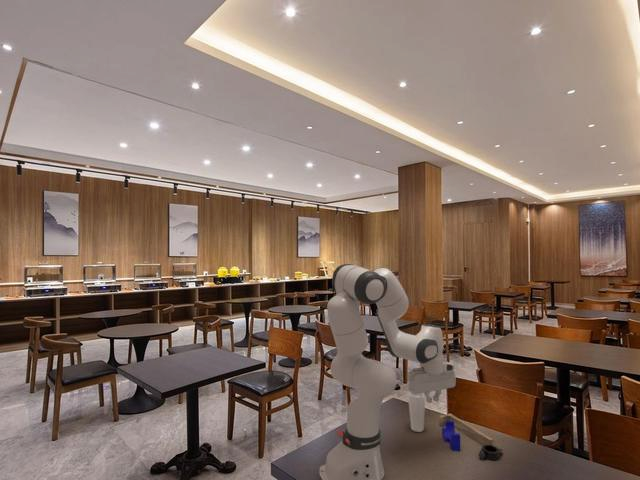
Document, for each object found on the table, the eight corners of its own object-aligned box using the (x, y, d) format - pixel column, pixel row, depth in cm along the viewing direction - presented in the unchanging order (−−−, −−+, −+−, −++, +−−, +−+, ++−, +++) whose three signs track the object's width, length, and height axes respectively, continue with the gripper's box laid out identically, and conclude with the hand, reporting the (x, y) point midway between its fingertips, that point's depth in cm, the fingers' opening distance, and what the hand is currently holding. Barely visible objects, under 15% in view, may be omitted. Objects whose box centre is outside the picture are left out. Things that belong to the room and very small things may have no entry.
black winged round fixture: (509, 464, 127) (508, 455, 127) (479, 461, 128) (479, 453, 128) (501, 452, 134) (501, 444, 135) (473, 450, 136) (473, 442, 136)
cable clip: (442, 434, 147) (441, 420, 148) (453, 435, 147) (453, 420, 147) (448, 450, 136) (447, 434, 136) (460, 451, 135) (460, 435, 135)
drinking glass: (407, 430, 150) (406, 395, 151) (411, 424, 156) (411, 389, 157) (423, 435, 147) (422, 398, 147) (427, 428, 153) (426, 392, 153)
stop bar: (481, 453, 133) (481, 442, 133) (439, 425, 155) (439, 415, 155) (493, 450, 135) (493, 439, 136) (450, 422, 157) (450, 413, 157)
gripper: (414, 371, 133) (415, 409, 133) (457, 365, 140) (458, 400, 140) (404, 366, 139) (405, 402, 138) (446, 360, 146) (447, 394, 146)
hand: (432, 401), depth 139 cm, fingers closed
